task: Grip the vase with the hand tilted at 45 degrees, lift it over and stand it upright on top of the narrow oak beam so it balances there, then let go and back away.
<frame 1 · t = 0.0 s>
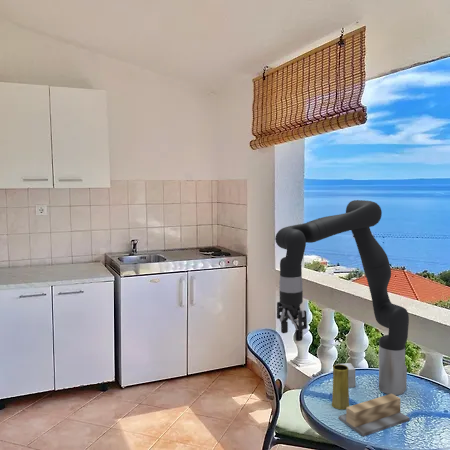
hand: (291, 336, 156), 29 cm above the table, tool pointing down, fingers open, 8 cm apart
vase: (340, 405, 168), on the table
skincare box: (345, 384, 184), on the table
ridge: (373, 419, 158), on the table
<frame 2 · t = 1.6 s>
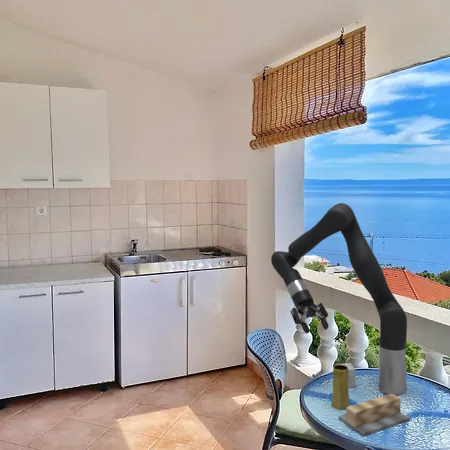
hand: (317, 330, 176), 24 cm above the table, tool tilted 45°, fingers open, 8 cm apart
nothing on the table moved.
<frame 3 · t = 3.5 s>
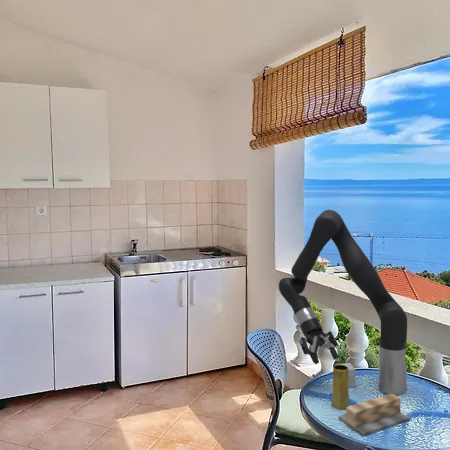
hand: (326, 361, 172), 14 cm above the table, tool tilted 45°, fingers open, 8 cm apart
nothing on the table moved.
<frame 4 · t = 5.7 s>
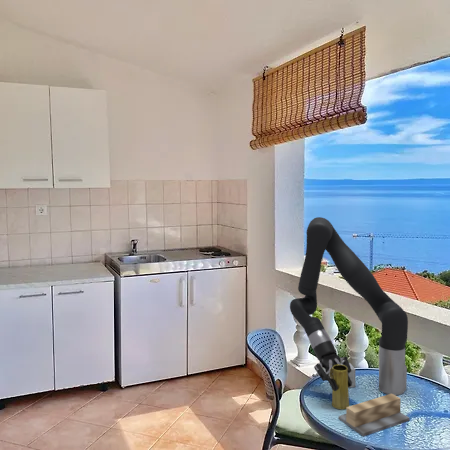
hand: (343, 388, 165), 7 cm above the table, tool tilted 45°, fingers closed on vase, 5 cm apart
vase: (340, 405, 168), on the table, touching gripper
everything else where it was.
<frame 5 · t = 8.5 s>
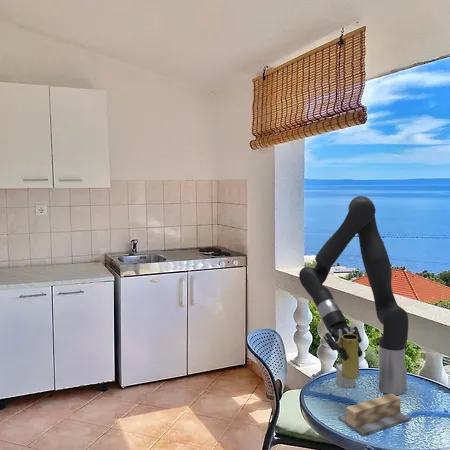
hand: (353, 357, 161), 20 cm above the table, tool tilted 45°, fingers closed on vase, 5 cm apart
vase: (350, 376, 163), point 12 cm above the table, touching gripper
everything else where it was.
when the fingers open (15 cm above the table, at t = 10.9 s): vase drops 1 cm, resting on ridge.
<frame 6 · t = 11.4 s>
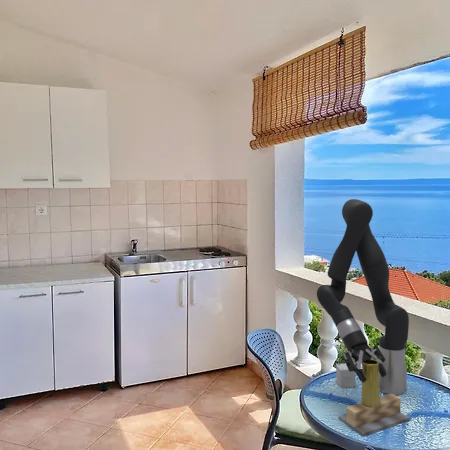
hand: (374, 378, 154), 15 cm above the table, tool tilted 45°, fingers open, 8 cm apart
vase: (370, 403, 157), point 6 cm above the table, touching ridge
everything else where it was.
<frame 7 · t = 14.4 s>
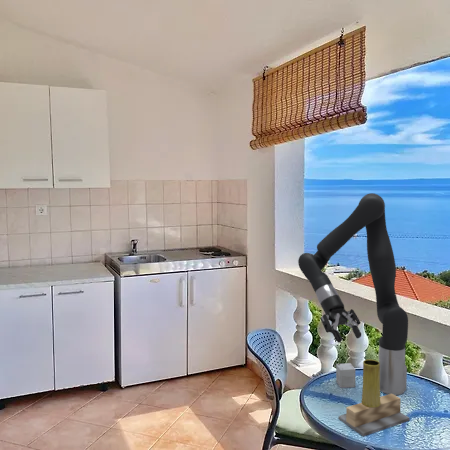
hand: (350, 339, 164), 25 cm above the table, tool tilted 45°, fingers open, 8 cm apart
nothing on the table moved.
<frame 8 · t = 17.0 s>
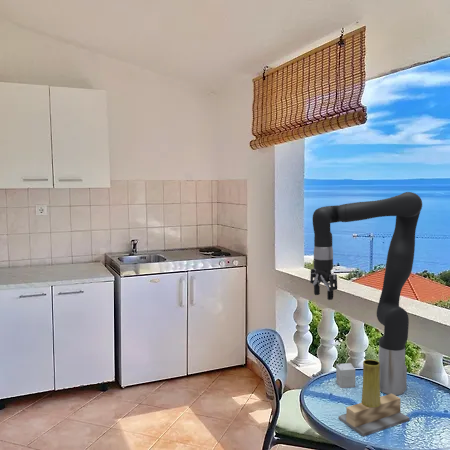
hand: (323, 297, 188), 33 cm above the table, tool pointing down, fingers open, 8 cm apart
nothing on the table moved.
at the end: vase inside the target area on the ridge (1.1 cm from its centre), point 5.8 cm above the ridge's base; vase tilted 0°; the gripper is holding nothing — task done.
